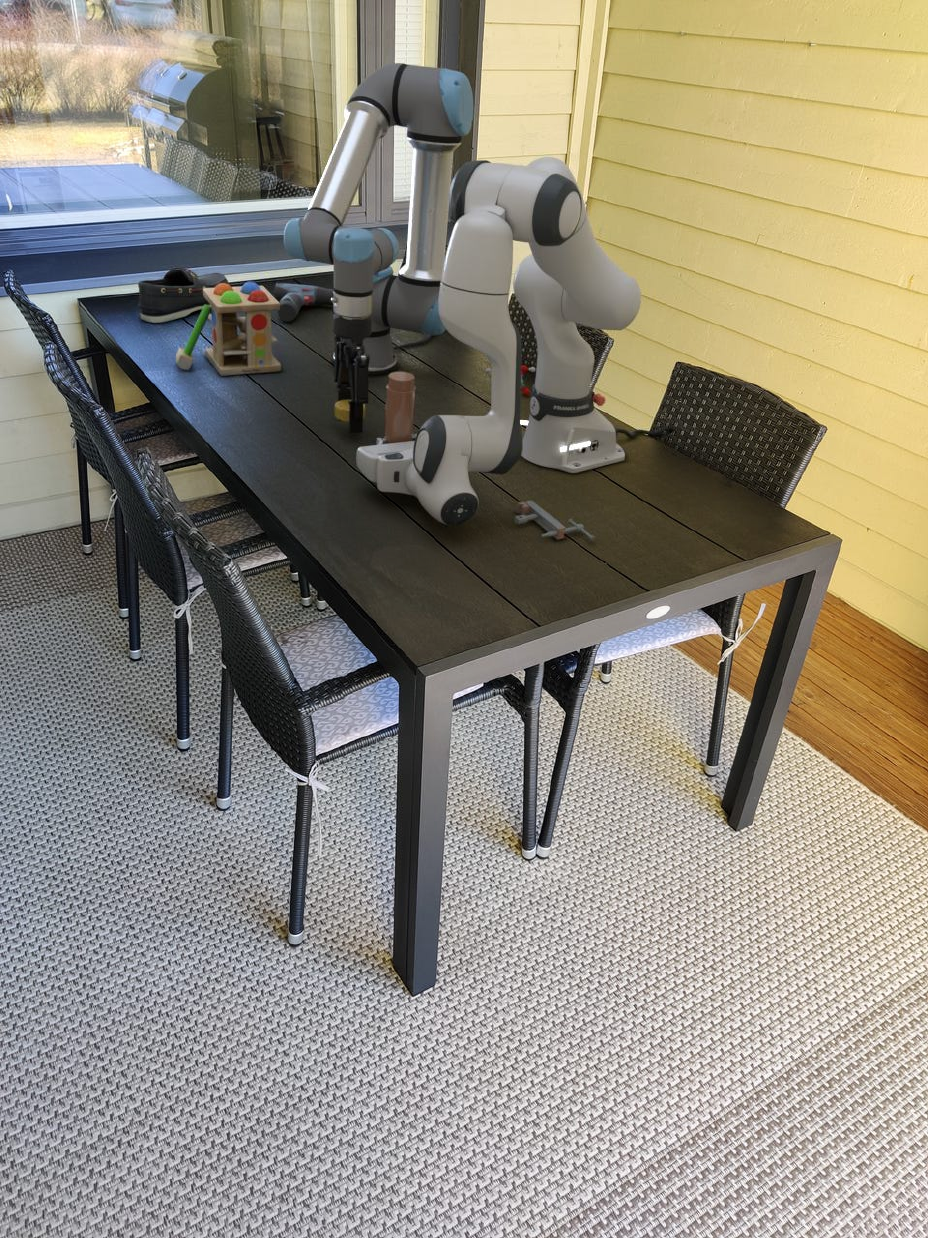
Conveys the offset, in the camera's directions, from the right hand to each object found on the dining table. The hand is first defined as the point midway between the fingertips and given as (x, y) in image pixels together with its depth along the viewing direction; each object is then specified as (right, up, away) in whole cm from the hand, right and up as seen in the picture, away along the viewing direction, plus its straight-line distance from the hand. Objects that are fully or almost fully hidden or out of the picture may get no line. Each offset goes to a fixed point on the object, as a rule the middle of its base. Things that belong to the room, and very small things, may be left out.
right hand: (396, 439), depth 188 cm
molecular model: (+23, +18, +41) cm, 50 cm away
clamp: (+28, -18, -11) cm, 35 cm away
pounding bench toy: (-43, +25, +43) cm, 66 cm away
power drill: (-30, +49, +79) cm, 98 cm away
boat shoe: (-61, +49, +75) cm, 109 cm away
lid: (-10, +9, +13) cm, 19 cm away
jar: (0, -6, +3) cm, 7 cm away
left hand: (-11, +6, +15) cm, 19 cm away
